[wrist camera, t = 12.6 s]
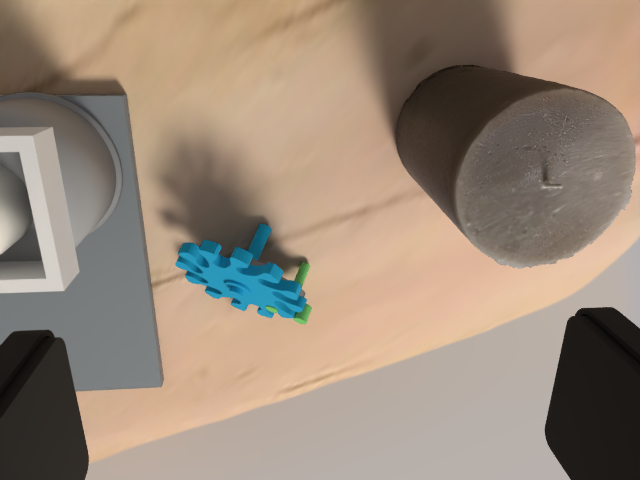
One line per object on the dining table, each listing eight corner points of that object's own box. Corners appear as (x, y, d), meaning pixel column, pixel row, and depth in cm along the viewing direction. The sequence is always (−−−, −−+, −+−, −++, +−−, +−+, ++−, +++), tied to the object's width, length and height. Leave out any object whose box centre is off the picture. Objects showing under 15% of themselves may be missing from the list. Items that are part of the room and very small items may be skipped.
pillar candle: (406, 58, 37) (484, 79, 23) (536, 71, 38) (686, 98, 24) (386, 189, 40) (444, 276, 27) (505, 198, 42) (620, 285, 28)
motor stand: (-89, 90, 35) (-246, 117, 24) (126, 89, 36) (64, 114, 25) (-6, 387, 44) (-94, 502, 33) (163, 379, 45) (130, 487, 34)
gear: (151, 270, 39) (207, 246, 32) (185, 208, 42) (245, 171, 34) (265, 335, 44) (338, 327, 36) (289, 275, 47) (362, 256, 39)
